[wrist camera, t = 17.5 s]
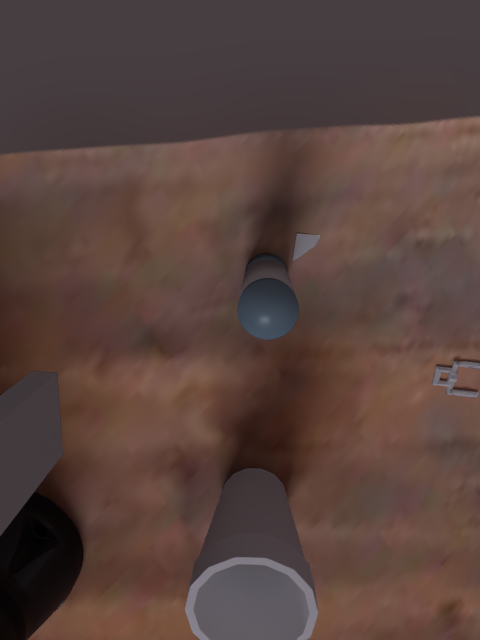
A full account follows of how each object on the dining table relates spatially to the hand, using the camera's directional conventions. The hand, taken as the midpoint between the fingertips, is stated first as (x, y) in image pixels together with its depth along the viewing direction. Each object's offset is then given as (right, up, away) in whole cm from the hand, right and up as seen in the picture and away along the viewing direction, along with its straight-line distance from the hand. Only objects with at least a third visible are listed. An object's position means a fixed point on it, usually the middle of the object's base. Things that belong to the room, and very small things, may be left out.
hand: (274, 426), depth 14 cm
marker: (+1, +7, +26) cm, 27 cm away
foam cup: (0, -14, +32) cm, 35 cm away
